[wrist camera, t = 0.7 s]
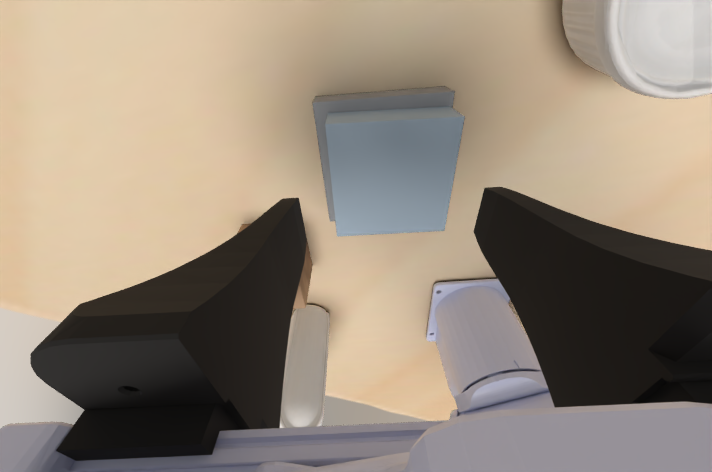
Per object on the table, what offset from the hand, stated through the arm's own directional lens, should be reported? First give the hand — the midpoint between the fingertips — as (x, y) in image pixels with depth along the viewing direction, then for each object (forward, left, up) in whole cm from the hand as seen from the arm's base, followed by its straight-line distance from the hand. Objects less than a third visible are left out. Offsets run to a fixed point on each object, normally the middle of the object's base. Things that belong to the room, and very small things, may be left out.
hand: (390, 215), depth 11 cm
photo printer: (-21, +8, -10) cm, 25 cm away
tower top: (-1, -1, -8) cm, 8 cm away
